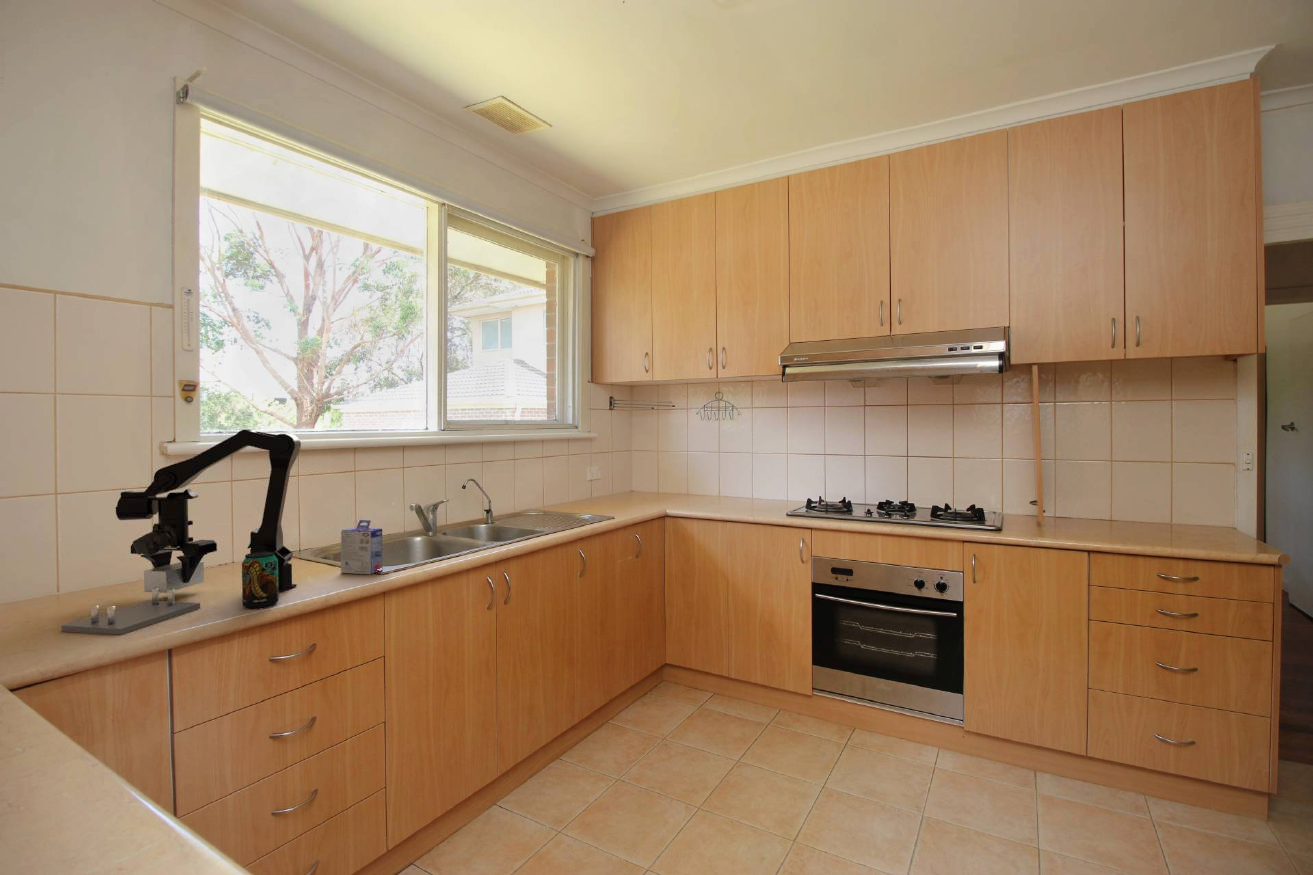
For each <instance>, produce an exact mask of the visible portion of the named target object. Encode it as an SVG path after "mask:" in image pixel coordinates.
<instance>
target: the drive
mask: <svg viewBox="0 0 1313 875" xmlns="http://www.w3.org/2000/svg"><path fill="white" fill-rule="evenodd" d="M204 562H205V561H200V563H199V564H198V566H197V568H196V570H195V571H194V573H193V575H192V577H191V579H190V581H189V582H188V583H184V581H183V575H182V563H181V561H179V562H178V561H177V562H174V563H170V565H166V566H162V567H157V568H154V567H153V568H150V569H146V570H143V582H144V583H143V585H144V586H143V587H144V589H143V590H144V593H152V589H155V588H159V594H167V590H169V589H174V592H175V591H177V590H180V589H181V590H182V589H186V588H189V587H192V586H195V585H198V584H202V583H204V582H205V570H204V569H205V567H204V566H205V565H204V564H205V563H204Z"/></svg>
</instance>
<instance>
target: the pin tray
mask: <svg viewBox="0 0 1313 875" xmlns="http://www.w3.org/2000/svg"><path fill="white" fill-rule="evenodd" d="M166 594H167V597H166V598H167V601H166V600H160V593H159V588H155V589H152V592H151V600H150V599H149V600H144V601H140V602H137V603H134V604H131V605H126V606H124V607H123V606H122V607H119V608H117V609H116V605H110V606H107V607H106V608H107V612H102V613H100V608H99V604H95V605H94V604H93V605H90V616H89V617H86V618H83V619H82V618H81V619H79V620H76V621H75V620H74V621H72V622H69V623H65V624H62V625H61V629H60V630H61V632H64V633H65V632H66V633H81V634H96V635H97V634H99V635H111V634H122V635H124V633H125V634H127V633H126V632H128V633H130V631H131V632H133V630H134V631H137V630H140V629H143V628H146V627H148V626H152V625H154V623H155V624H158V623H161V622H163V621H166V619H167V620H170V619H172V617H173V618H175V617H179V616H181V615H184V613H185V614H187V613H191V612H193V611H192V610H194V611H196V609H197V610H198V608H200V609H201V602H186V601H185V602H184V601H175V591H174V589H169V590H167V593H166ZM190 611H191V612H190ZM178 615H179V616H178ZM160 621H161V622H160ZM145 626H146V627H145ZM139 628H140V629H139Z"/></svg>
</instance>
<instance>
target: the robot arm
mask: <svg viewBox="0 0 1313 875" xmlns="http://www.w3.org/2000/svg"><path fill="white" fill-rule="evenodd" d="M247 447H253V448H257V449H260V450H264V451H268V458H269V463H270V475H269V478H268V479H269V480H268V486H267V491H266V492H267V493H266V496H265V503H264V508H263V512H262V520H261V523H260V526H259V527H258V528H256V529H254V530H252V531H251V532H250V538H249V540H250V541H249V544H248V546H247V549H248V550H249V552H250V553H255V552H274V555H275V557H276V558H277V559H278V593H281V592H284V591H286V590H289V589H293V588H295V587H297V585H298V584H296V583H293V566H292V565H293V564H292V563H290V562H291V560H292V558H293V555H294V552H292V551H291V550H290V549H288V547H286V546H285V545H284V534H283V533H284V531H283V528H282V520H283V519H282V518H283V513H284V508H285V502H286V496H287V492H288V486H289V485H288V484H289V481H290V475H291V470H292V468H293V465H294V463H295V462H296V459H298V458H297V457H298V455H299V452H300V449H301V448H302V442H301V440H300V438H299V437H298V436H297V435H295V434H292V433H280V434H274V433H273V434H272V433H267V432H262V431H261V432H260V431H257V430H254V429H241V430H239V431H238V432H237V433H235V434H233V435H231V436H230V437H228V438H227V439H224V440H223V441H221V442H219V443H217V444H216V445H214V446H211V447H210V448H208V449H206V450H204V451H202V452H200V453H199V454H197V455H195V456H193V457H191V458H187V459H185V460H182V461H178V462H175V463H173V464H169V465H168V466H164V467H162V468H159V469H157V470H156V472H154V473H153V474H154V475H153V481H152V482H151V483H150V485H149V486H148V487H147V488H146V489H145V490H144V491H133V490H129V491H128V490H127V491H122V492H120V497H119V499H118V500H117V503H116V506H115V514H116V518H117V519H118V520H119V521H135V520H136V521H137V520H138V521H140V520H151V519H152V518H153V517H154V516H155V515H156V516H157V515H158V516H157V518H158V519H157V521H158V522H157V523H153V526H152V531H151V532H148V533H146V534H144V535H142V536H139V537H138V538H137V539H135V540H133V541H132V543H131V545H130V554H131V555H133V554H135V555H140V557H141V558H144V559H146V560H148V561H149V562H150V563H151V565H152V566H153V568H157V567H162V566H166V565H170V564H171V561H172V556H173V552H175V551H177V552H182V554H183V555H178V556H176V559H177V560H179V562H181V563H182V575H183V581H184V583H188V582H189V581H190V579H191V577H192V575H193V573H194V571H195V570H196V568H197V566H198V564H199V563H200V562H202V560H203V558H204V556H206V555H208V554H211V553H214V552H218V543H217V542H216V541H215V540H213V539H199V540H195V541H194V536H193V537H192V536H190V534H189V532H190V531H189V530H190V529H189V526H193V525H194V523H193V522H194V520H189V500H193V499H197V498H198V497H199V495H198V494H197V493H196V492H194V491H192V489H191V488H187V489H185V490H184V491H179V492H175V490H180V489H184V488H186V487H187V486H188V485H189V484H191V483H192V482H193V481H194V480H196V479H197V478H198V477H199V476H201V474H202V473H204V472H205V471H206V470H208V469H210V468H211V467H213V466H215V465H217V464H218V463H220V462H222V461H224V460H226V459H229V457H231V456H233V455H235V454H237V453H238V452H240V451H242V450H244V449H246V448H247ZM170 491H174V492H170ZM166 493H167V495H166V496H158V495H163V494H166ZM250 553H249V554H250Z"/></svg>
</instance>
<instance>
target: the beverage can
mask: <svg viewBox="0 0 1313 875" xmlns="http://www.w3.org/2000/svg"><path fill="white" fill-rule="evenodd" d="M241 585H242V586H241V588H242V591H241V598H242V602H241V603H242V606H243V607H244V608H245V609H246V608H247V609H246V610H261V609H260V608H263V609H268V608H271V607H273V606H276V604H277V603H278V601H279V599H280V598H279V592H278V559H277V558H276V557H275V555H274V552H255V553H246V554H245V555H244V559H243V561H242V562H241ZM270 606H271V607H270ZM267 607H268V608H267Z"/></svg>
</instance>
